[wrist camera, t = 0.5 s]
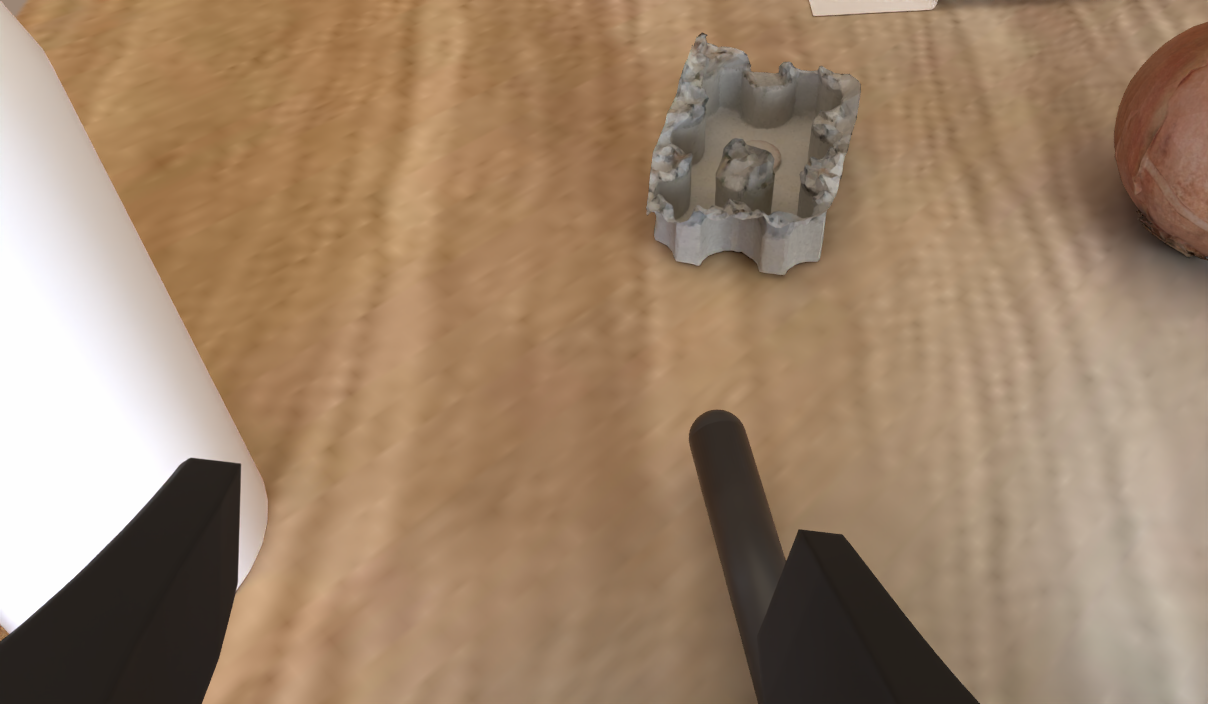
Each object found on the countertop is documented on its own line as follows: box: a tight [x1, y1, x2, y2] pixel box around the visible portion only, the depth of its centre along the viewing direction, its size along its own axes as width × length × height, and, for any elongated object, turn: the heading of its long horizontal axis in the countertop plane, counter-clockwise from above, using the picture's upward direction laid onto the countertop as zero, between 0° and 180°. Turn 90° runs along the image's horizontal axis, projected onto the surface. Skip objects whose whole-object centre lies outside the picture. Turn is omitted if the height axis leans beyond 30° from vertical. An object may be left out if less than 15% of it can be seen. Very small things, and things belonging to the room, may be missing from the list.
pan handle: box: [689, 410, 786, 704], centre depth 32 cm, size 11×2×2 cm, turn 9°
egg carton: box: [646, 33, 861, 275], centre depth 45 cm, size 11×8×4 cm
